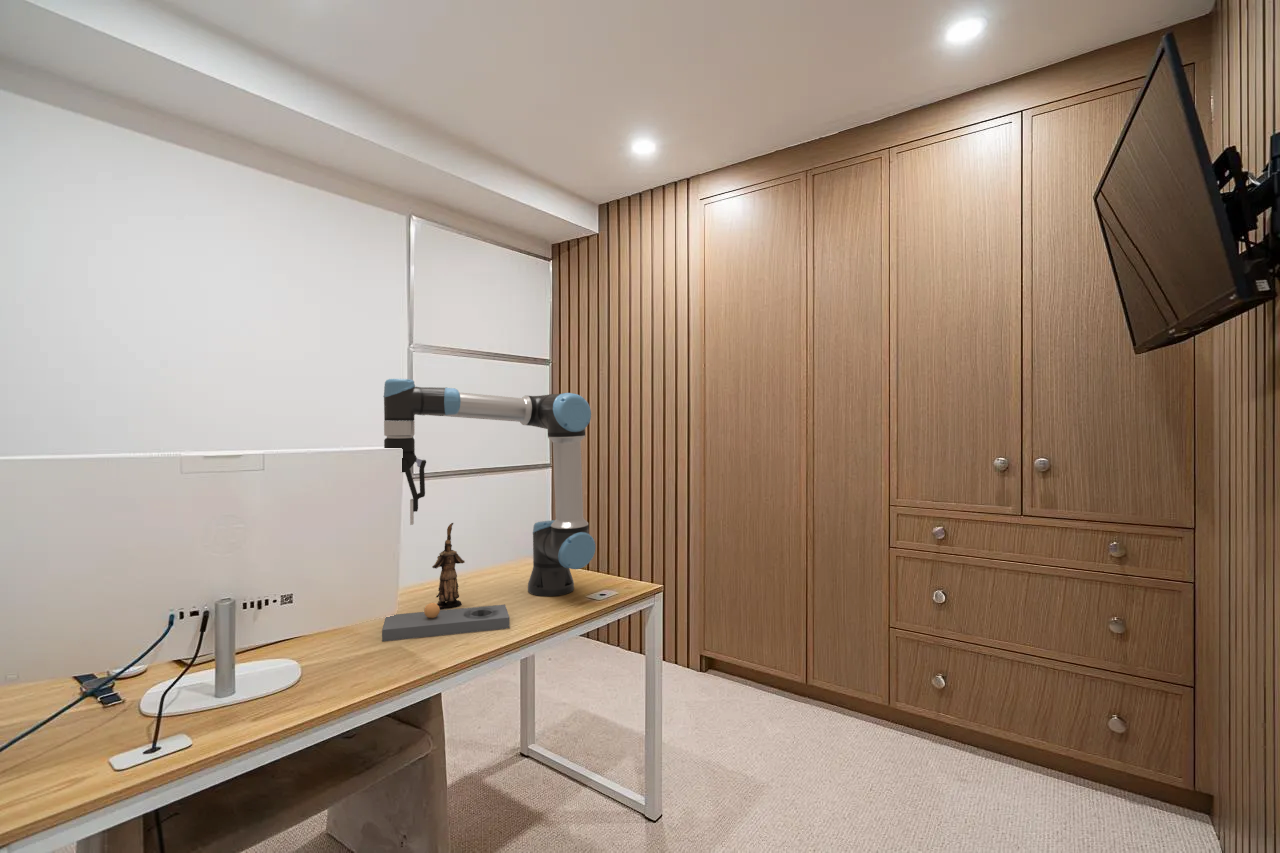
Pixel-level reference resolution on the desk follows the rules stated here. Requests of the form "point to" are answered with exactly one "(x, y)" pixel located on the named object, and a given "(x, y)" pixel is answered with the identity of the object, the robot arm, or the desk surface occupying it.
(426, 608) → the ball
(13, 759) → the desk surface
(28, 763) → the desk surface
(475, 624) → the block
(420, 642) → the desk surface
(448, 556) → the figurine
